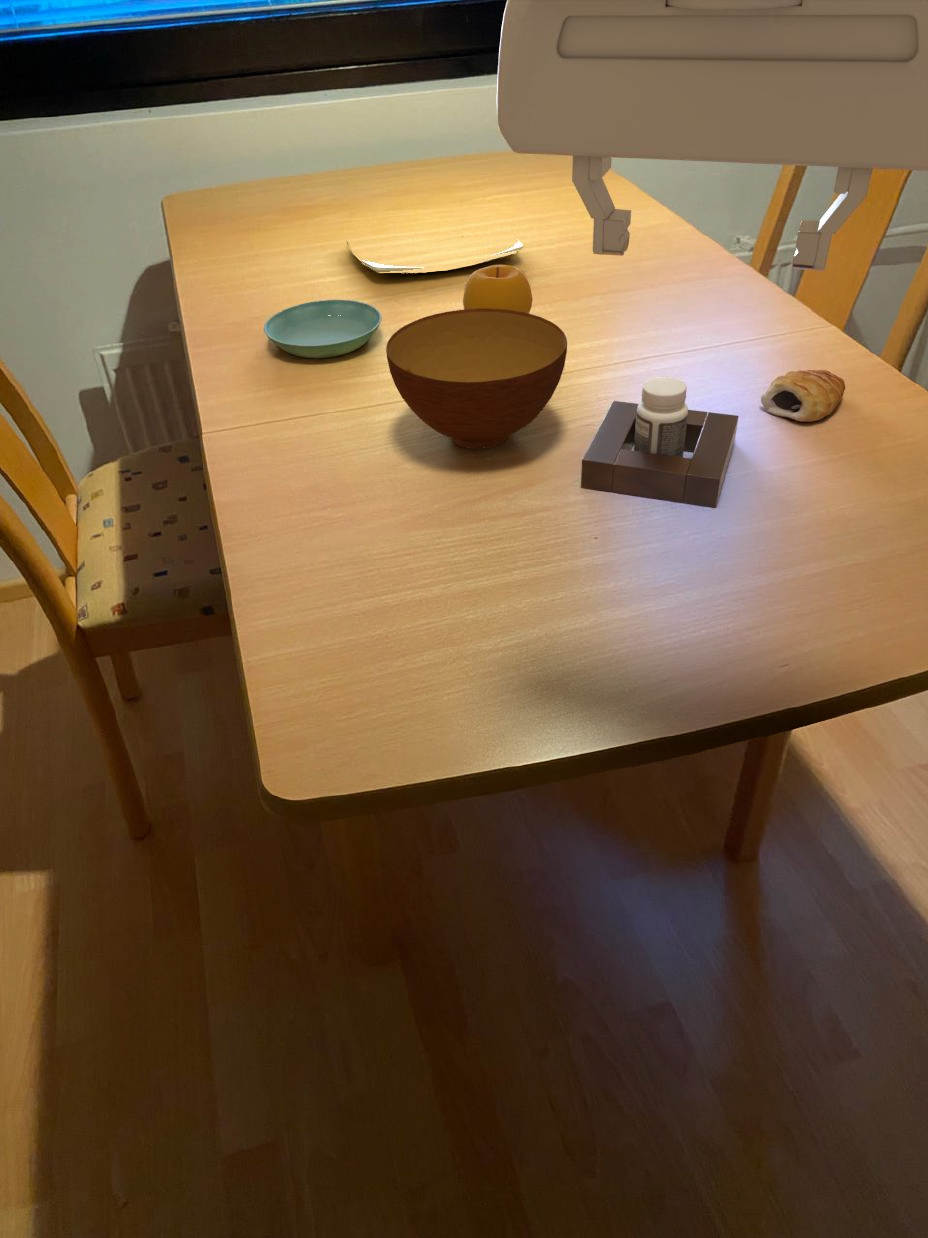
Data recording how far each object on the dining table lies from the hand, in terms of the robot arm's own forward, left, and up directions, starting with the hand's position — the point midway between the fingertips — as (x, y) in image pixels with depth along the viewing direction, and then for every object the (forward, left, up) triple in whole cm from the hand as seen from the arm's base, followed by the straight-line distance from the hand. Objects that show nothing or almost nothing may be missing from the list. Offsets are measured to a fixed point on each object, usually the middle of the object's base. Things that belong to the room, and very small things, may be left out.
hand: (706, 258), depth 45 cm
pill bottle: (+6, -34, -31) cm, 46 cm away
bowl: (+25, -35, -31) cm, 53 cm away
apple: (+31, -59, -31) cm, 74 cm away
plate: (+51, -88, -31) cm, 107 cm away
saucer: (+52, -53, -31) cm, 81 cm away
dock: (+6, -34, -31) cm, 46 cm away
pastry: (-6, -50, -31) cm, 59 cm away
